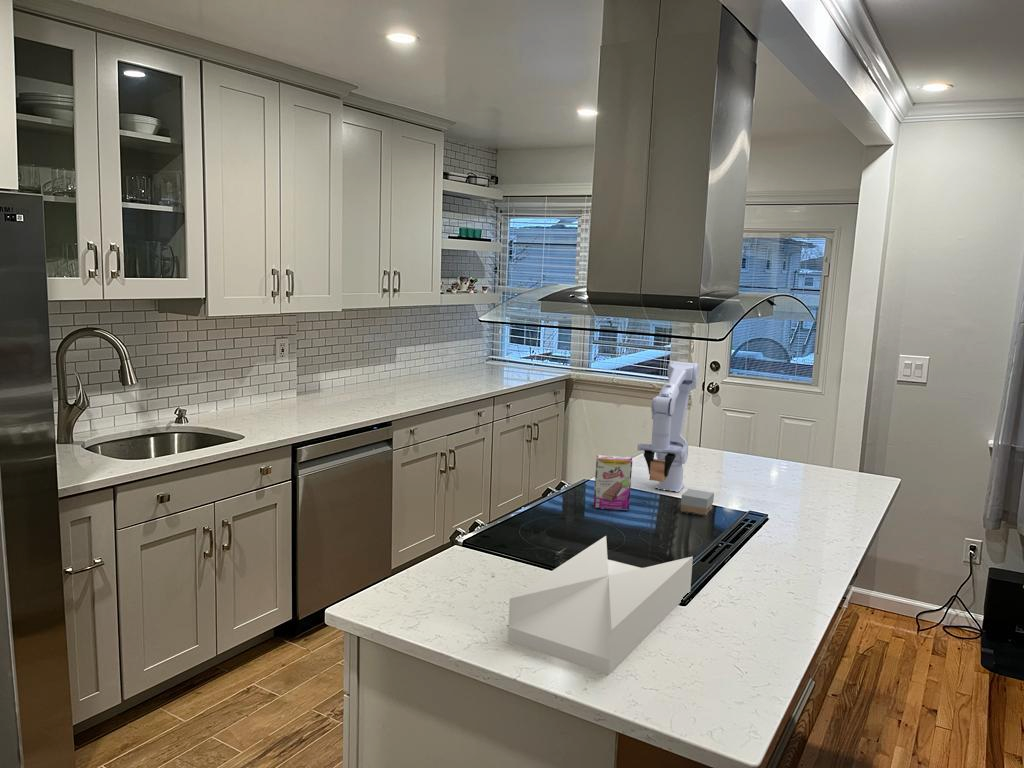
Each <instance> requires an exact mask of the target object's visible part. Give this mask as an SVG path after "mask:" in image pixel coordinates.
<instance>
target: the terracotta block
mask: <svg viewBox="0 0 1024 768" xmlns="http://www.w3.org/2000/svg"><path fill="white" fill-rule="evenodd" d="M664 472H665V460H659V459H657V458H654V460H652V461H651V463H650V474H649V480H650V481H654V482H664V481H665V480H666V479H667V477H665V476H664ZM649 480H648V481H649Z"/></svg>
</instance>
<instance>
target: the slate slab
mask: <svg viewBox="0 0 1024 768" xmlns="http://www.w3.org/2000/svg"><path fill="white" fill-rule="evenodd" d="M714 496H715V493H714V492H711V491H706V490H705V491H704V490H699V489H692V488H688V489H687V490H686V491H685V492H682V494H681V500H680V501H681V502H680V505H681V504H682V505H688V506H694V507H699V508H705V509H707V508H708V507H709V506H710V505H711V504H712V505H713V503H714V500H715V499H714Z"/></svg>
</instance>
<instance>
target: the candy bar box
mask: <svg viewBox="0 0 1024 768" xmlns="http://www.w3.org/2000/svg"><path fill="white" fill-rule="evenodd" d="M595 461H596V462H595V473H594V475H595V476H594V489H593V491H594V492H593V509H594V508H604V509H603V510H605V509H628V510H629V511H630V502H631V501H630V498H631V488H632V487H631V484H632V472H633V471H632V470H633V458H632V457H631V456H620V455H607V454H606V455H605V454H596V460H595Z"/></svg>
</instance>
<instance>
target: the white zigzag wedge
mask: <svg viewBox="0 0 1024 768" xmlns="http://www.w3.org/2000/svg"><path fill="white" fill-rule="evenodd" d="M693 558H694V556H688V557H684V558H680V559H676V560H672V561H667V562H663V563H659V564H655V565H650V566H645V567H640V566H636V565H631V564H628V563H624V562H619V561H617V560H612V559H608V543H607V535H605V536H603V537H602V538H600V539H599V540H597V541H595V542H594V543H592V544H591V545H589V546H588V547H587V548H585V549H583V550H582V551H580V552H579V553H577V554H575V555H574V556H573V557H571V558H570V559H567V560H566V561H565V562H564V563H562V564H560V565H559V566H558V567H555V568H554V569H552V570H551V571H549V572H547V573H546V574H545V575H543V576H542V577H540V578H539V579H537V580H535V581H534V582H533V583H531V584H530V585H528V586H527V587H525V588H524V589H522V590H521V591H519V592H517V593H516V594H514V595H512V596H511V597H510V598H509V607H508V627H507V628H508V632H507V642H508V641H509V642H508V643H511V642H512V644H515V645H516V646H521V647H523V648H527V649H528V650H529V649H530V650H533V651H536V652H539V653H541V654H544V655H547V656H551V657H553V658H556V659H558V660H559V659H560V660H562V661H566V662H569V663H571V664H574V665H577V666H579V667H584V668H586V669H589V670H592V671H595V672H598V673H600V674H605V675H607V676H610V675H611V674H612V673H613V672H614V671H615V670H616V669H617V668H618V667H619V666H620V665H621V664H622V663H623V662H624V661H625V660H627V658H628V656H630V655H631V654H632V653H633V652H634V651H635V650H636V649H637V648H638V647H639V645H641V643H643V641H644V640H645V639H646V638H647V637H648V636H650V634H651V633H653V631H654V630H655V629H656V628H657V627H658V626H659V625H660V624H661V623H662V622H663V621H664V620H665V619H666V618H667V617H668V616H669V615H670V614H671V613H672V612H673V611H674V610H675V609H676V608H677V607H678V606H679V605H680V603H682V602H681V600H682V599H683V597H684V596H685V595H686V594H687V593H689V592H690V593H691V588H692V587H691V584H692V574H693V572H692V571H693V563H694V562H693V560H694V559H693ZM690 593H689V594H690ZM683 600H684V599H683Z"/></svg>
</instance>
